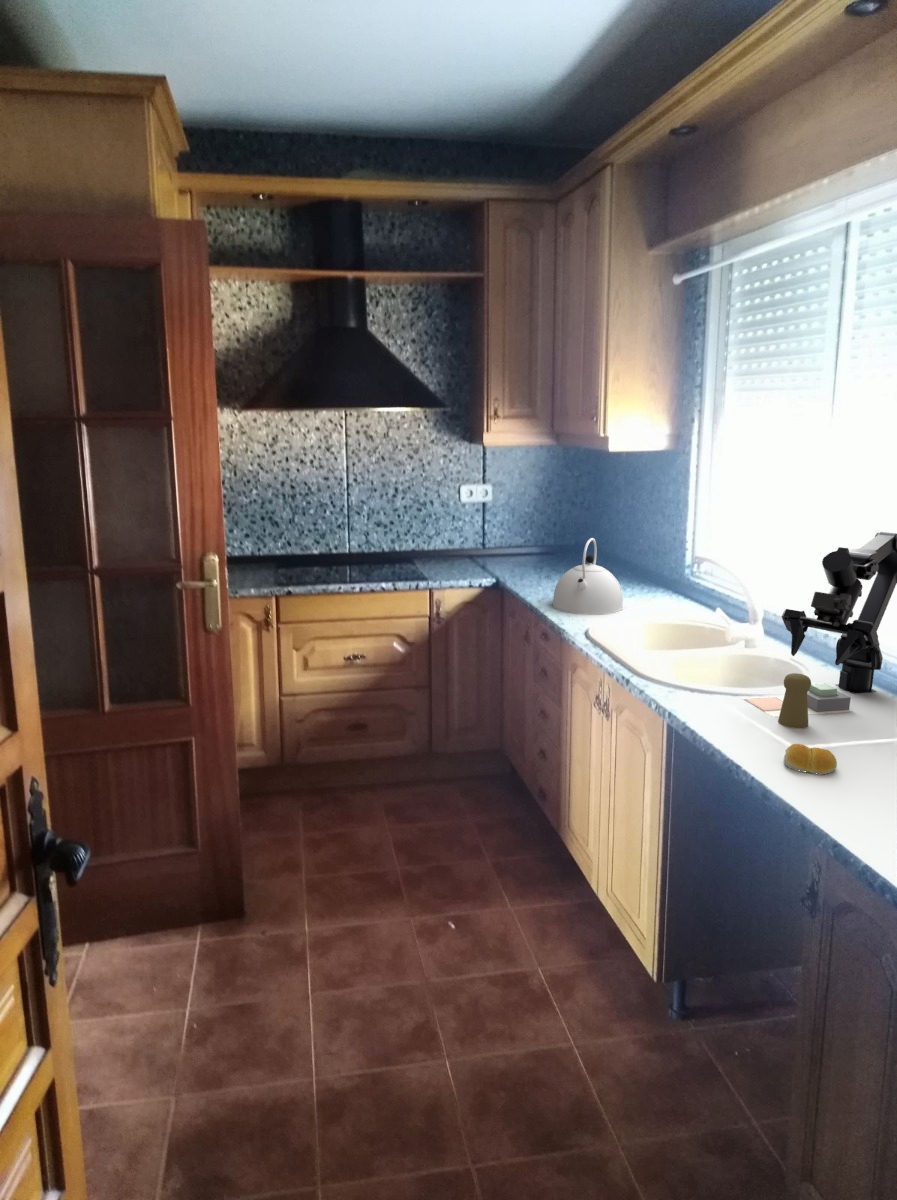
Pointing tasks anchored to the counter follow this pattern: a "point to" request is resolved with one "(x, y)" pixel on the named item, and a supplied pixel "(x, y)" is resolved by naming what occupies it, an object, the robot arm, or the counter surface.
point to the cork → (795, 701)
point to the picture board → (814, 704)
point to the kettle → (588, 589)
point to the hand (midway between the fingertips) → (813, 659)
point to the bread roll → (810, 759)
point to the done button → (823, 690)
